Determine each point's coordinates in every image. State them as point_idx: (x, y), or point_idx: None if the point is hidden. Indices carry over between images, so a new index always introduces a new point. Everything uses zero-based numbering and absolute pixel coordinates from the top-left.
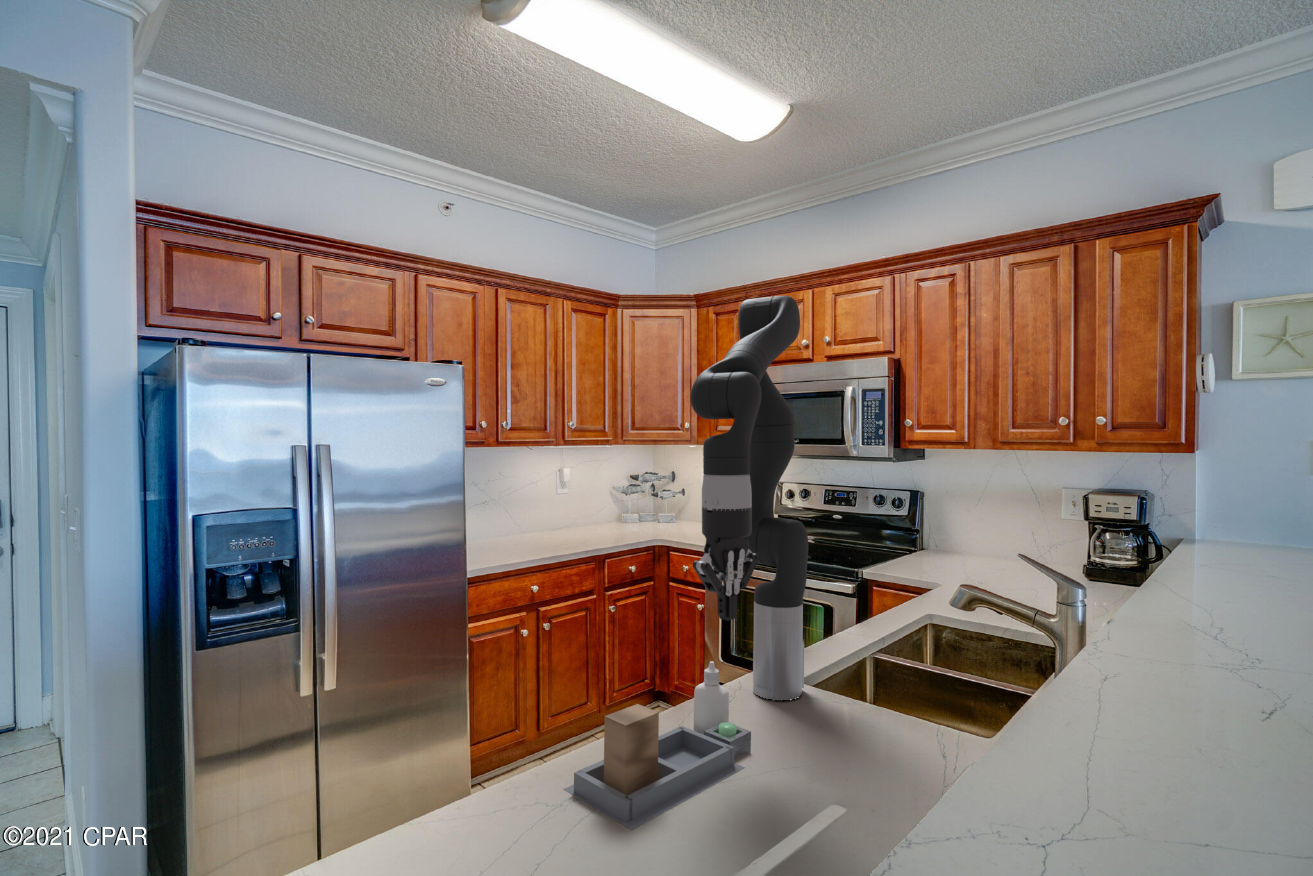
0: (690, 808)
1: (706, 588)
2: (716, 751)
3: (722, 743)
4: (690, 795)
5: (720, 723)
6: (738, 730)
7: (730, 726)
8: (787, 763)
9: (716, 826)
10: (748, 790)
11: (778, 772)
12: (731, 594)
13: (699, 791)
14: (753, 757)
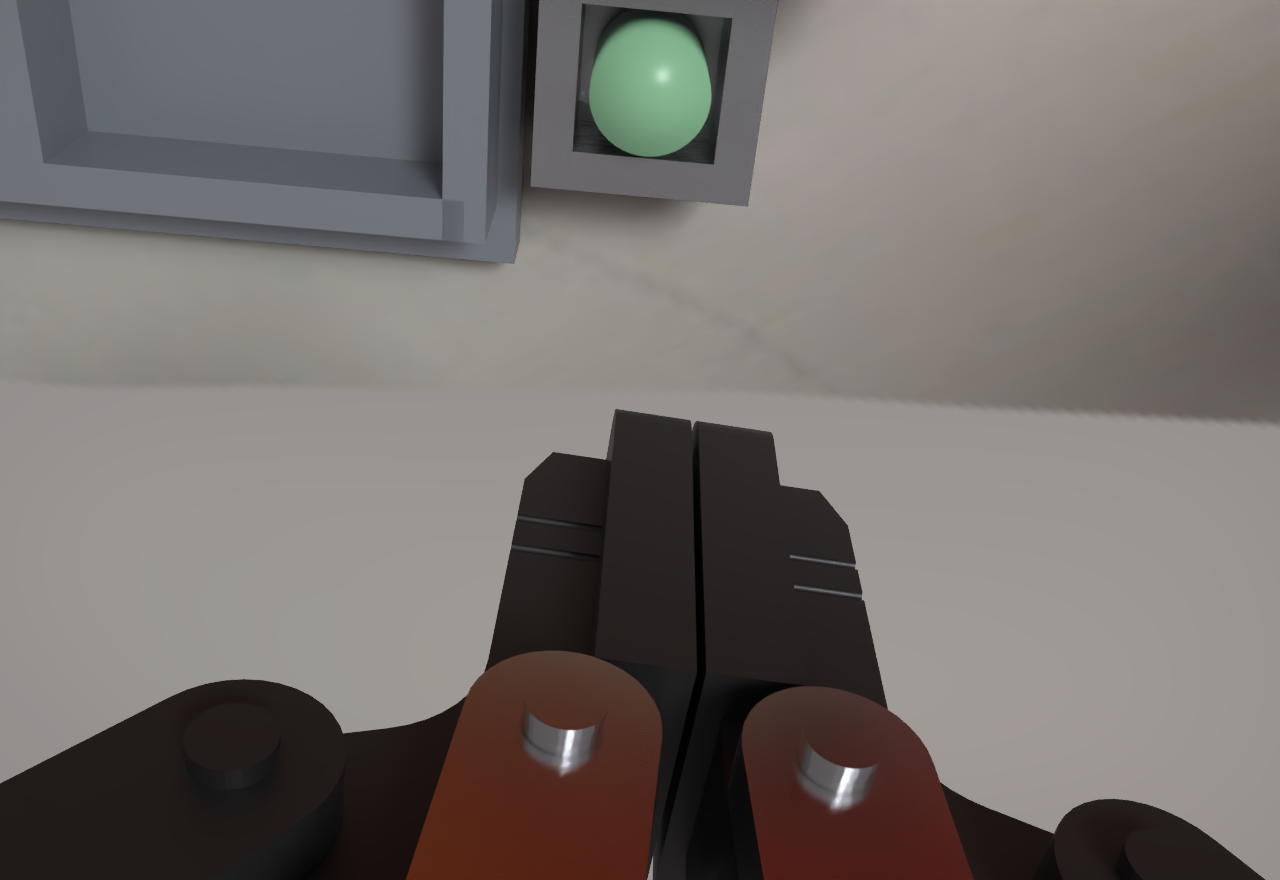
0: None
1: (105, 740)
2: (359, 196)
3: (475, 162)
4: (71, 213)
5: (652, 33)
6: (718, 130)
7: (653, 119)
8: (810, 325)
9: (89, 360)
10: (434, 313)
11: (691, 335)
12: (691, 863)
13: (135, 226)
14: (760, 156)
